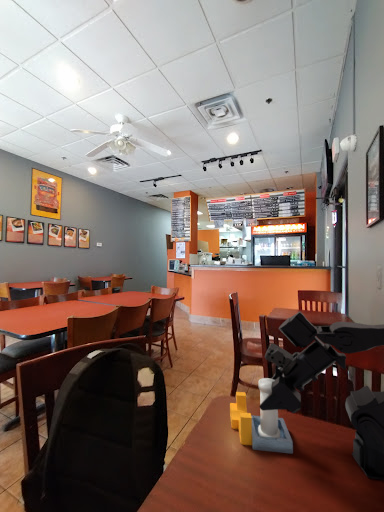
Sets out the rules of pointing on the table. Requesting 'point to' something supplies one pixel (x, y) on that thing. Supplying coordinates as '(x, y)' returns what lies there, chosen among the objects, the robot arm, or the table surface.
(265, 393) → the white domed pillar
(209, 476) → the table surface
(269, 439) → the blue-grey square tray
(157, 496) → the table surface
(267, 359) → the robot arm
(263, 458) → the table surface
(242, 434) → the pipe clamp
